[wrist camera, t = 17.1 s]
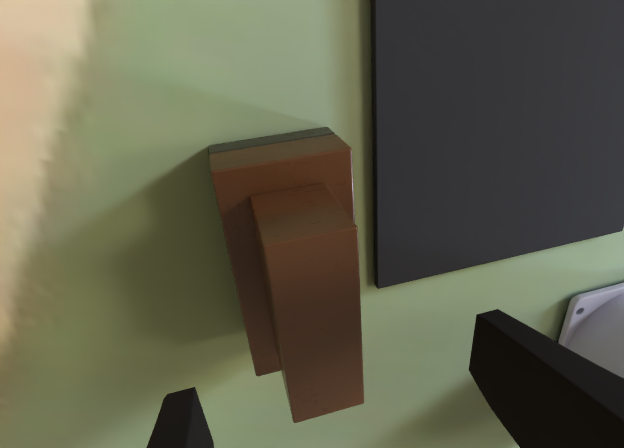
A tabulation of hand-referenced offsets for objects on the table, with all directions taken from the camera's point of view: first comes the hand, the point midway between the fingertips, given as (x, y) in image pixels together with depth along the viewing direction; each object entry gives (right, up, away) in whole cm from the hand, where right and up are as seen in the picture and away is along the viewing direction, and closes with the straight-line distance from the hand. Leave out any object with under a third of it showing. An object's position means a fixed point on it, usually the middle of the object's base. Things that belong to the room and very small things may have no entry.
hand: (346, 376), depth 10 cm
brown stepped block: (-2, +3, +7) cm, 8 cm away
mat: (+8, +10, +6) cm, 14 cm away
